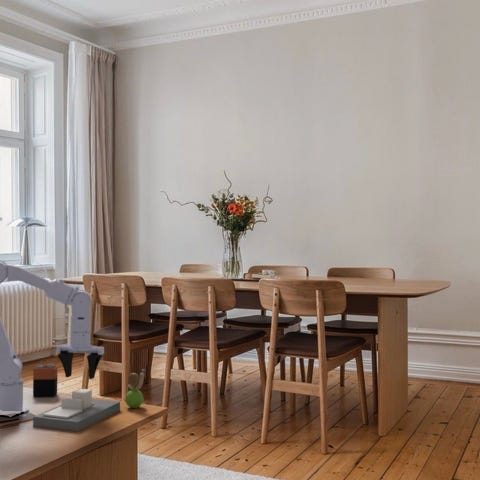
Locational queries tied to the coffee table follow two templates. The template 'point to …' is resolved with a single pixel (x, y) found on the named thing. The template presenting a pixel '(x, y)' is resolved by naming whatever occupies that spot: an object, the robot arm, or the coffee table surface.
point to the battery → (45, 381)
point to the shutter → (66, 408)
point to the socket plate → (79, 416)
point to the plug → (83, 397)
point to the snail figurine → (135, 390)
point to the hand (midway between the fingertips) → (80, 377)
